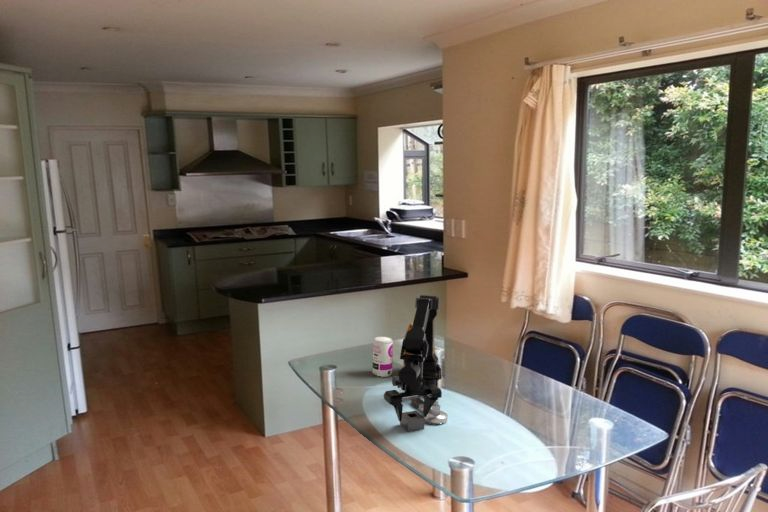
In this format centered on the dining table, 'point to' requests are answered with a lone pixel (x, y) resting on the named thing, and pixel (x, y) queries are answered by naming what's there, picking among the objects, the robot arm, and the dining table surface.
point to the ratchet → (431, 411)
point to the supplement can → (382, 356)
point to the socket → (412, 421)
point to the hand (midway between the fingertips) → (412, 418)
